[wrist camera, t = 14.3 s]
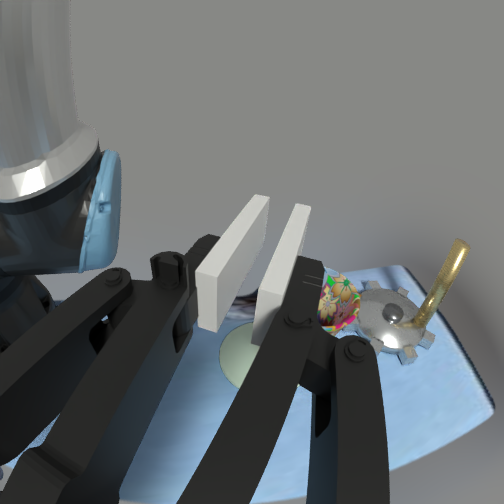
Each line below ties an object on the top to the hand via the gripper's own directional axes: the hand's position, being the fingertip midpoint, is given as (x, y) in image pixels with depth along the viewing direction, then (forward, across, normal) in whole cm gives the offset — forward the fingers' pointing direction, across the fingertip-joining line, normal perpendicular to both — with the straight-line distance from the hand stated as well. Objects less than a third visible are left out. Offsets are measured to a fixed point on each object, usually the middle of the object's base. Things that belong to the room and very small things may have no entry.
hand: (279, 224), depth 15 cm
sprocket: (+18, +16, -22) cm, 33 cm away
